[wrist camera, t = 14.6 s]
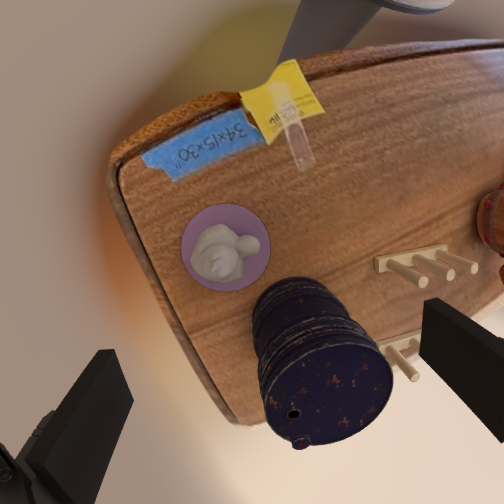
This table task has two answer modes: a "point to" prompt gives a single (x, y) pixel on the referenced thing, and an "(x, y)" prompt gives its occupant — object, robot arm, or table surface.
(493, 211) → the mug
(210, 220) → the purple coaster
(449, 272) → the rack
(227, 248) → the grey lumpy piece
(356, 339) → the dark blue barrel
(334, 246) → the table surface
